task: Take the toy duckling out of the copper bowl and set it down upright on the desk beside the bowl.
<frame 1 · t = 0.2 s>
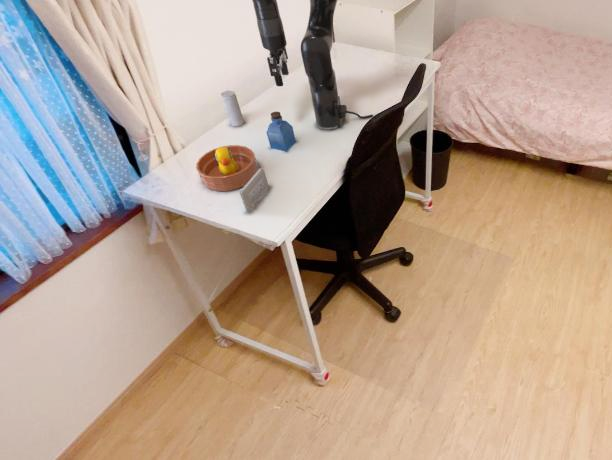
hand: (282, 80, 147), 17 cm above the table, tool pointing down, fingers open, 8 cm apart
bowl: (231, 174, 138), on the table
duckling: (230, 174, 137), resting on bowl
cassette: (258, 200, 129), on the table
beverage can: (237, 124, 160), on the table
perfume bottle: (283, 145, 150), on the table
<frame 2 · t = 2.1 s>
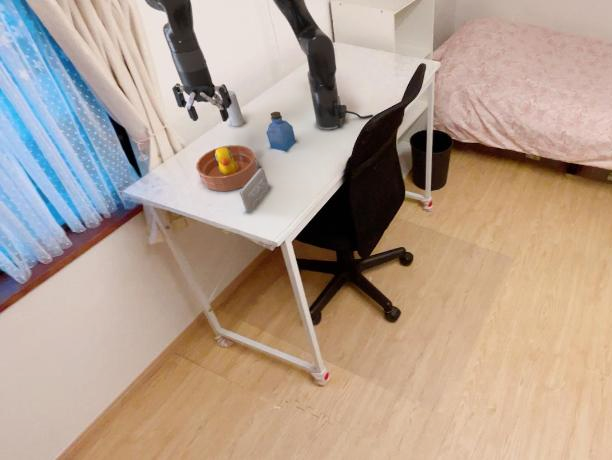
hand: (210, 119, 125), 19 cm above the table, tool pointing down, fingers open, 8 cm apart
nothing on the table moved.
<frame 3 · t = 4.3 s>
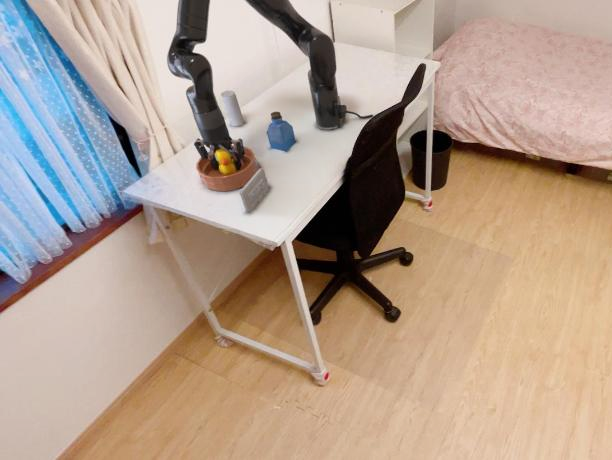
hand: (228, 168, 136), 3 cm above the table, tool pointing down, fingers closed on duckling, 6 cm apart
duckling: (230, 174, 137), resting on bowl, touching gripper
everything else where it was.
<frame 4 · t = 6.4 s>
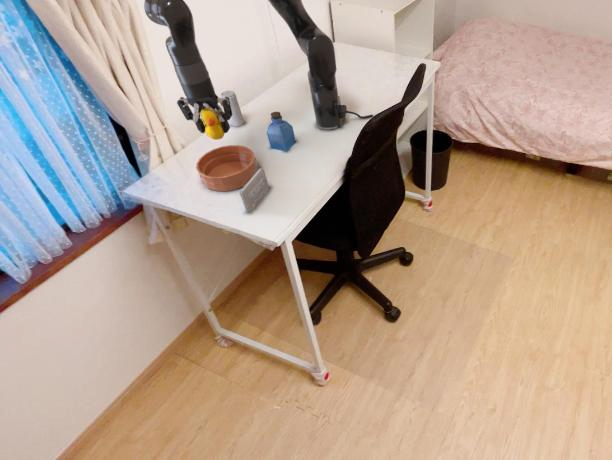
hand: (215, 131, 126), 16 cm above the table, tool pointing down, fingers closed on duckling, 6 cm apart
duckling: (218, 137, 128), point 14 cm above the table, touching gripper
everything else where it was.
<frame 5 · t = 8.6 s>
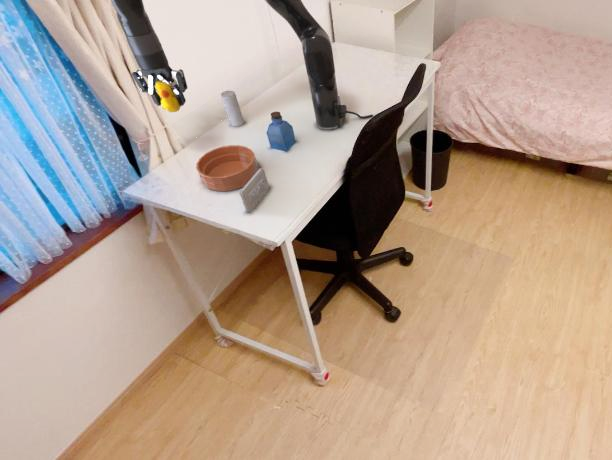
hand: (171, 104, 130), 20 cm above the table, tool pointing down, fingers closed on duckling, 6 cm apart
duckling: (174, 110, 131), point 18 cm above the table, touching gripper
everything else where it was.
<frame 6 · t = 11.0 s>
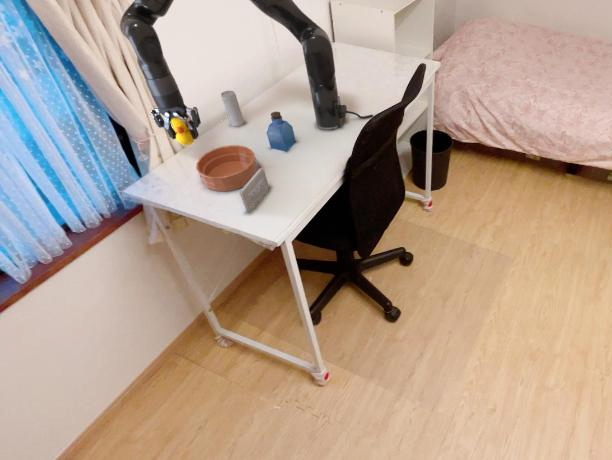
hand: (185, 137, 138), 8 cm above the table, tool pointing down, fingers closed on duckling, 6 cm apart
duckling: (188, 143, 140), point 6 cm above the table, touching gripper
everything else where it was.
when the fingers open (2 cm above the table, at t = 13.0 s): duckling stays where it is, on the table.
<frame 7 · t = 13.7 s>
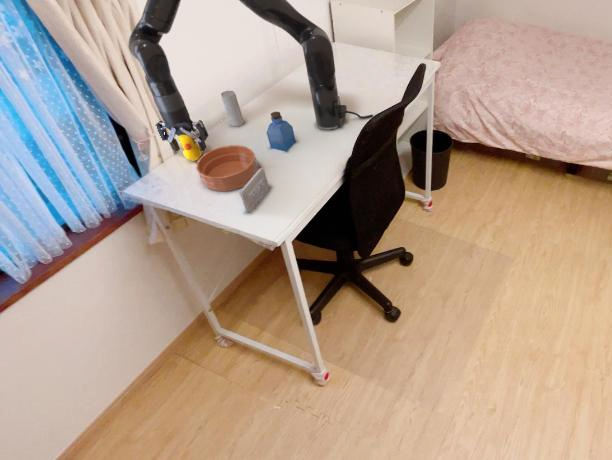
hand: (190, 150, 142), 3 cm above the table, tool pointing down, fingers open, 8 cm apart
duckling: (195, 158, 144), on the table
everything else where it was.
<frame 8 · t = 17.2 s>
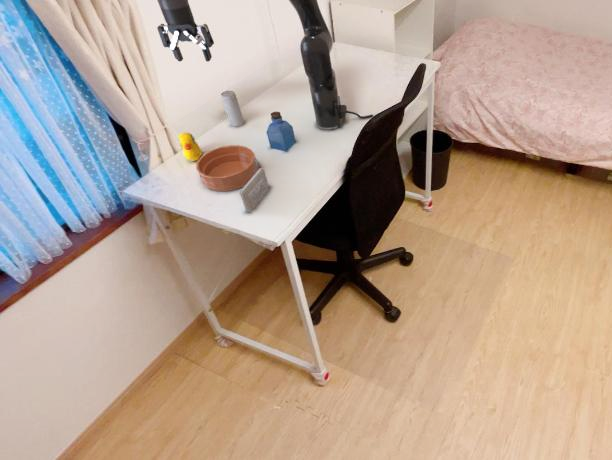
hand: (194, 60, 133), 28 cm above the table, tool pointing down, fingers open, 8 cm apart
nothing on the table moved.
at the end: duckling inside the target area (0.2 cm from its centre), on the table; duckling tilted 0°; duckling touching table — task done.
